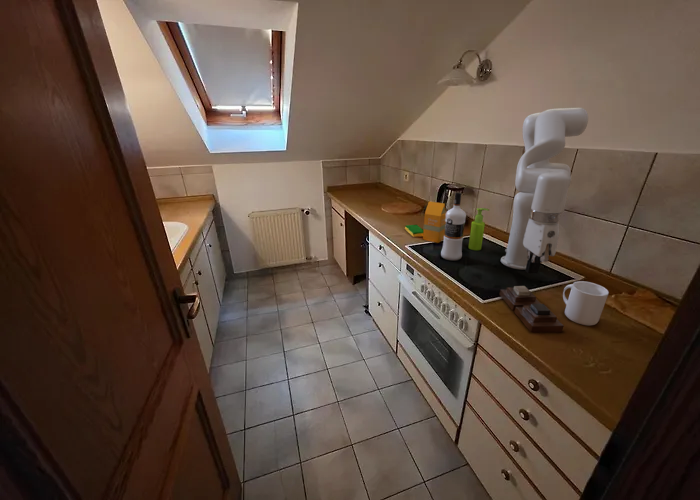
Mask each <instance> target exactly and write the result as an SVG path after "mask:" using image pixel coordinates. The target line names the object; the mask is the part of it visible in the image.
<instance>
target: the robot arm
mask: <svg viewBox="0 0 700 500" xmlns="http://www.w3.org/2000/svg"><path fill="white" fill-rule="evenodd" d="M588 124H589V113H588V111H587V109H585V108H583V107H566V108H565V107H564V108H563V107H562V108H549V109H545V110H543V111H542V112H536V113H531V114H529V115H527V116H526V117H525V118H524V120H523V124H522V140H523V145H524V151H525V152H524V153H523V154H522V155H521V156H520V158H519V160H518V162H517V165H516V172H515V181H514V182H515V183H514V184H515V185H514V186H515V189H516V190H517V191H518V192H517V193H516V194H515V195H514V198H513V207H512V208H513V210H512V211H513V212H512V219H511V226H510V230H509V237H508V240H507V241H508V242H507V247H506V248H505V249H504V252H505V255H503V256H502V257H501V258H500V262H501V264H503V265H504V266H505V267H507V268H511V269H515V270H525V272H526V273H527V274H538V273H539V271H540V267H541V263H543V262H545V263H546V262H549V256H550V257H555V255H556V252H557V248H558V243H559V237H560V224H559V223H560V220H561V216H562V215H563V214H564V212H565V208H566V204H567V199H568V193H569V188H570V185H571V182H572V176H571V175H572V173H571V172H572V171H571V167H570V166H569V165H568V164H566V163H563V162H551V161H550V160H551V158H554V157H556V156H558V155H560V154H561V153H562V152H563V150H564V149H565V148H566V138H570V137H578V136H580V135H582V134H583V133H584V132H585V131H586V129H587V127H588Z"/></svg>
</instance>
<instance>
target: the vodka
mask: <svg viewBox="0 0 700 500" xmlns="http://www.w3.org/2000/svg"><path fill="white" fill-rule="evenodd" d="M462 193H463V192H458V191H457V192H455V193H454V199H453V206H452V208H449V209H448V210H446V219H445V221H446V222H445V232H444V239H443V243H442V247H441V250H440V256H441V258H443V259H444V260H445V261H451V262H452V261H454V262H455V261H459V260H461V259H462V257H463V252H462V251H463V240H464V231H465V224H466V218H467V213H466V211H465V210H464V209H462V208H461V200H462Z"/></svg>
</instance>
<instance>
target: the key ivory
mask: <svg viewBox="0 0 700 500" xmlns="http://www.w3.org/2000/svg"><path fill="white" fill-rule="evenodd" d="M513 287H514V289H513V291H514V292H515V293H516V294H517V295H529V294H530V292H531V291H530V289H528V287H526V286H525V285H514V286H513Z"/></svg>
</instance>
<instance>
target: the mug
mask: <svg viewBox="0 0 700 500" xmlns="http://www.w3.org/2000/svg"><path fill="white" fill-rule="evenodd" d="M568 289H570V292H569V296H568V298H567V297H566V295H565V294H566V293H565V292H566V291H567V290H568ZM609 293H610V292H609V290H608V289H607V288H606V287H604V286H602V285H600V284H598V283H594V282H591V281H584V280H579V281H574V282H573V283H571V284H567V285H566V286H565V287H564V288H563V290H562V299H563V302H564V304H565V309H564V315H565V316H566V317H567V319H569V320H570V321H572V322H574V323H576V324H579V325H583V326H595V325H597V324H598V322H599V321H600V318H601V316H602V313H603V311H604V307H605V304H606V301H607V299H608V296H609Z"/></svg>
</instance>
